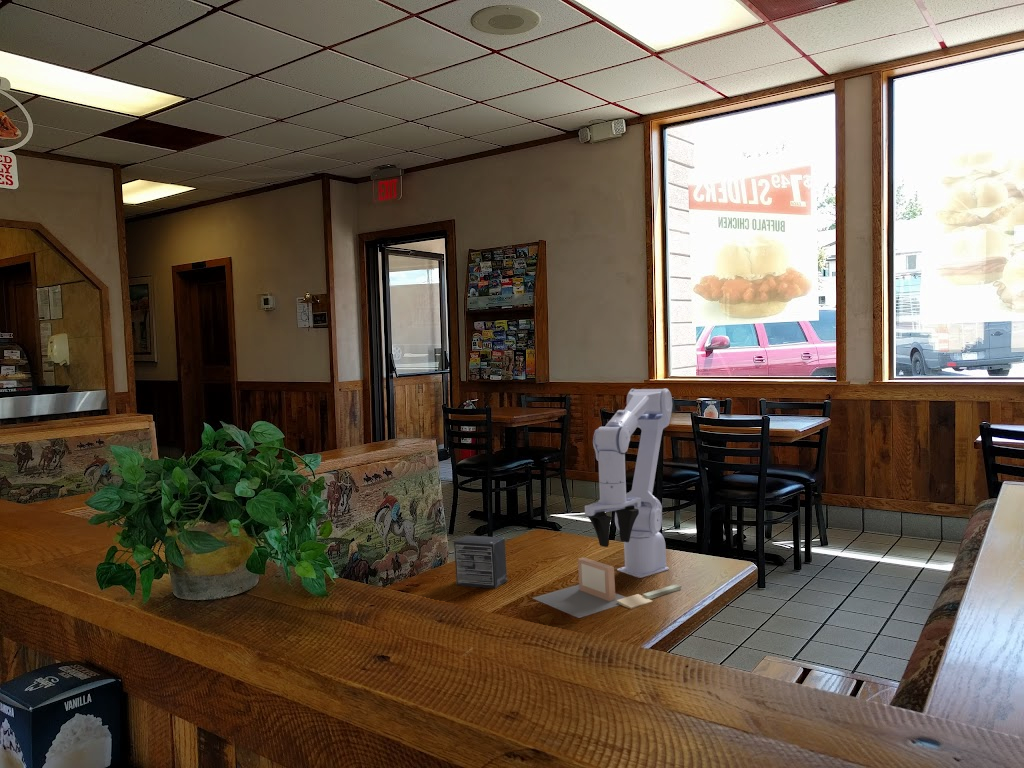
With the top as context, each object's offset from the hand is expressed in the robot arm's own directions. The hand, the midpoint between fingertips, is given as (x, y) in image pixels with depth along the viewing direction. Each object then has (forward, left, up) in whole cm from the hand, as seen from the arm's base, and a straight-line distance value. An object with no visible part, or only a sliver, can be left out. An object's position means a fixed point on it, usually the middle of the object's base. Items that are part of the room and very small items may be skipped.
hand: (614, 543), depth 170 cm
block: (+5, 0, -10) cm, 11 cm away
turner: (-2, +9, -10) cm, 14 cm away
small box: (+19, -25, -11) cm, 33 cm away
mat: (+9, 0, -10) cm, 14 cm away
